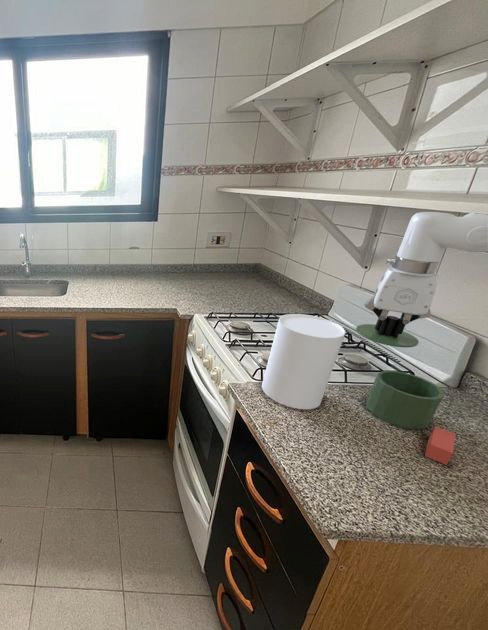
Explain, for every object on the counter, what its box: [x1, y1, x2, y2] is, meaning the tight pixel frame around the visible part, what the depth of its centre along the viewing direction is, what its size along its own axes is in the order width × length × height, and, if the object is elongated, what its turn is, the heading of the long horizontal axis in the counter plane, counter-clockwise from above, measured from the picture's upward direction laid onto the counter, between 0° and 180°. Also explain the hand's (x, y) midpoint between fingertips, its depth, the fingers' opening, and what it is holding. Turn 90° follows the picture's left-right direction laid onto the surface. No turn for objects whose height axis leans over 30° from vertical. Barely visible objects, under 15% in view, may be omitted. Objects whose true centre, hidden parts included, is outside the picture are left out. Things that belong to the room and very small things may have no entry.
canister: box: [261, 313, 346, 410], centre depth 88 cm, size 14×14×20 cm
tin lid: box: [355, 315, 419, 348], centre depth 89 cm, size 12×12×6 cm
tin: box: [365, 369, 445, 430], centre depth 82 cm, size 11×11×8 cm
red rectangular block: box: [424, 425, 457, 466], centre depth 72 cm, size 8×3×3 cm, turn 132°
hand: (386, 333), depth 90 cm, fingers closed on tin lid, 2 cm apart
